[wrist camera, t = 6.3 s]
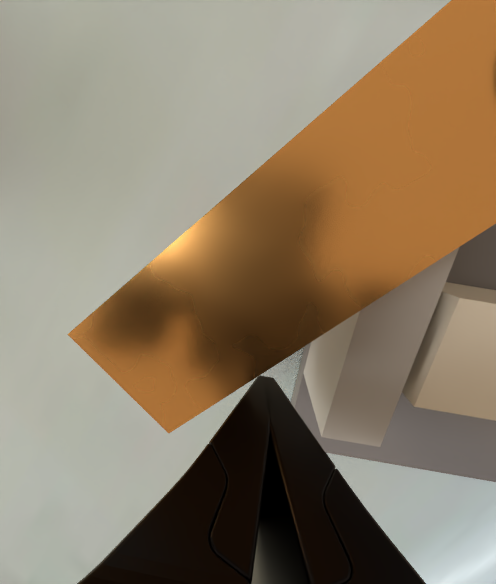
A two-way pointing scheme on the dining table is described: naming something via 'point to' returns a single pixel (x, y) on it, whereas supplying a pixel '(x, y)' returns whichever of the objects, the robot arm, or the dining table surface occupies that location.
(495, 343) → the plug
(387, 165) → the copper metal plate
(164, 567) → the robot arm
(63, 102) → the dining table surface
